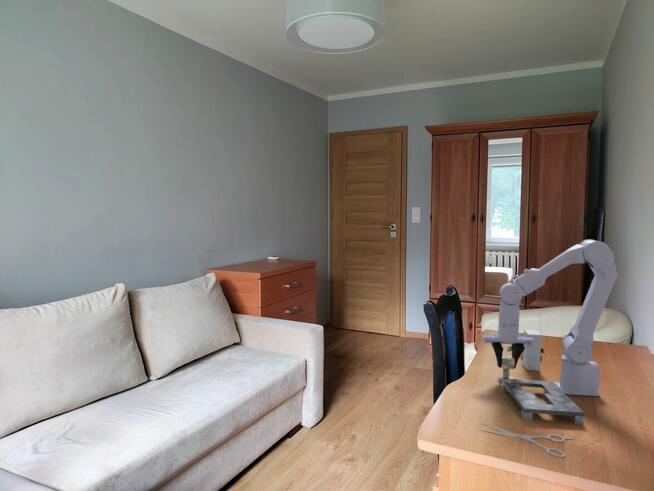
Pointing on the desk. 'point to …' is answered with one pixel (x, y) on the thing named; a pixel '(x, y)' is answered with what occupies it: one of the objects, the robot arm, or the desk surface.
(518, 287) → the robot arm
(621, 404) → the desk surface
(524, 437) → the scissors
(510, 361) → the key peg
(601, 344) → the desk surface
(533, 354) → the skincare box
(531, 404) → the keyhole plate
